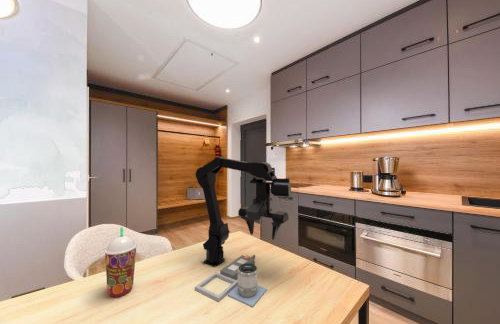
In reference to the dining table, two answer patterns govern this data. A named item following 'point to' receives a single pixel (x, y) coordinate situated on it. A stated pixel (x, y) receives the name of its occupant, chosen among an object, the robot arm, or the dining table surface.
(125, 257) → the smoothie
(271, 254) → the dining table surface
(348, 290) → the dining table surface
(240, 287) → the camera lens
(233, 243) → the dining table surface
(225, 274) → the grey frame with handle
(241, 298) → the mat
